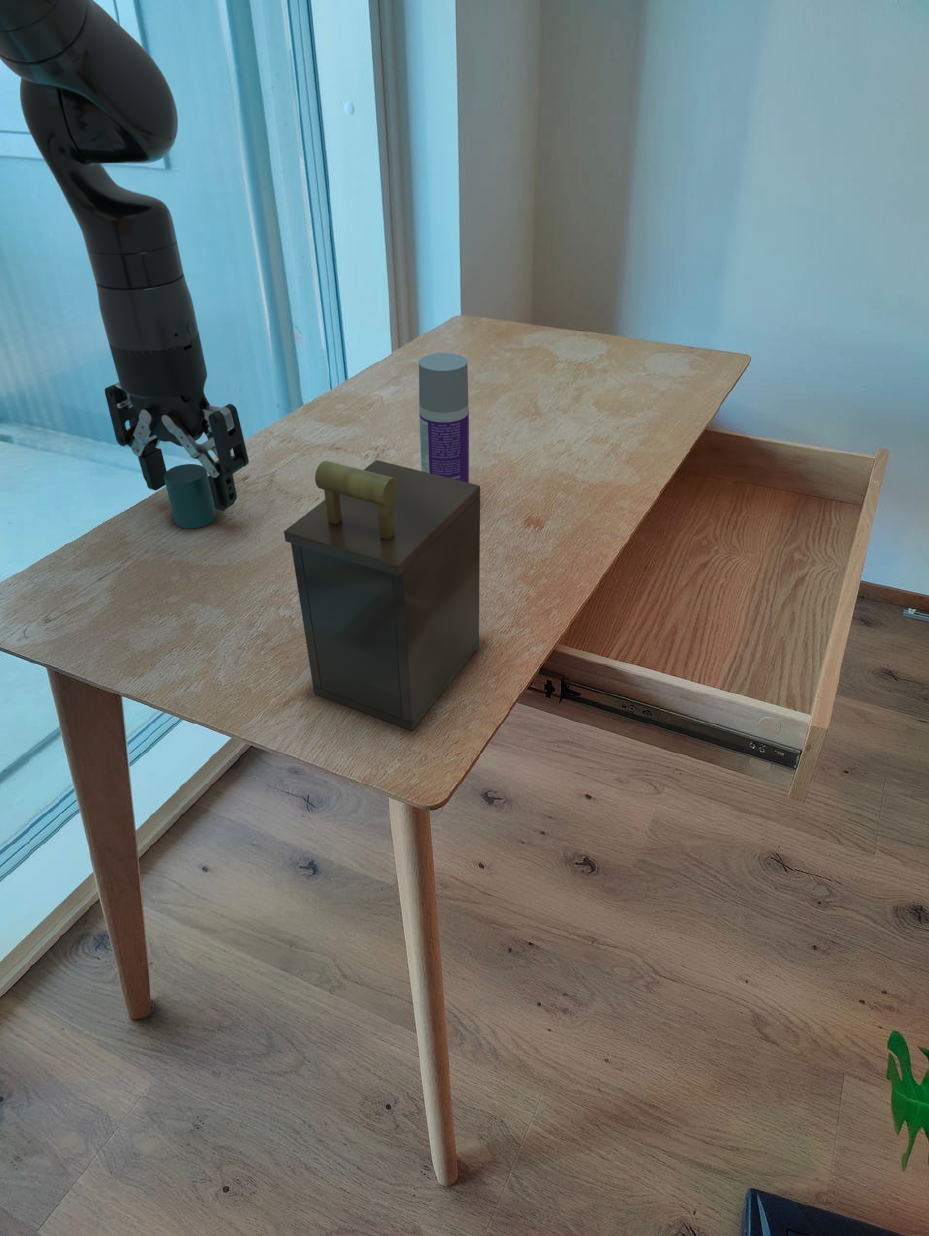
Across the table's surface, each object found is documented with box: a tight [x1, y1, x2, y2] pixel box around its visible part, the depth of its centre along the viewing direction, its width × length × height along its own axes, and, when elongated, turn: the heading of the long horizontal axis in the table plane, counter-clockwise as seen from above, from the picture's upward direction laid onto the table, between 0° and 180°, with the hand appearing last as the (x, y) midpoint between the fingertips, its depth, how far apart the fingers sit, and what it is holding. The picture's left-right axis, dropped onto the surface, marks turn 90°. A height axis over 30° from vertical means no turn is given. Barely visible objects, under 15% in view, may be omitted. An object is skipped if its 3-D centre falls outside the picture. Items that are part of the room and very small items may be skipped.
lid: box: [283, 459, 481, 576], centre depth 55 cm, size 11×9×5 cm
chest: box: [290, 495, 481, 732], centre depth 61 cm, size 11×9×14 cm
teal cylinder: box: [164, 463, 217, 530], centre depth 82 cm, size 4×4×5 cm
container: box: [418, 352, 470, 483], centre depth 80 cm, size 5×5×15 cm
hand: (192, 496), depth 82 cm, fingers open, 8 cm apart
